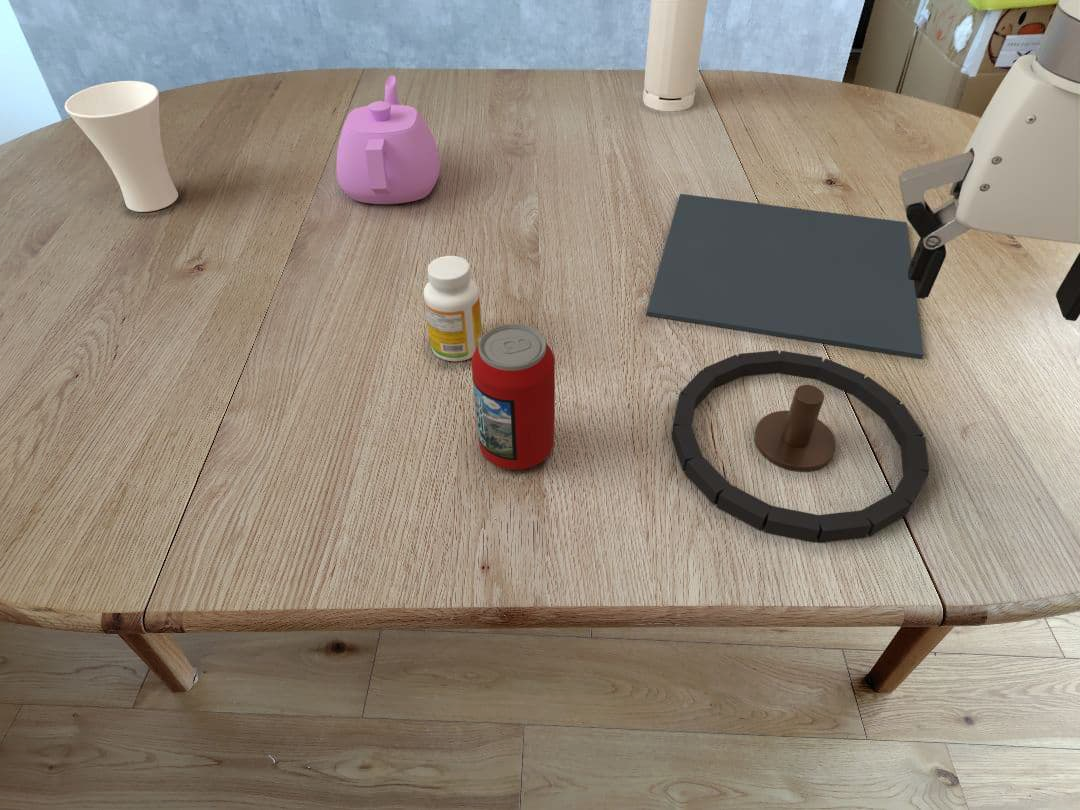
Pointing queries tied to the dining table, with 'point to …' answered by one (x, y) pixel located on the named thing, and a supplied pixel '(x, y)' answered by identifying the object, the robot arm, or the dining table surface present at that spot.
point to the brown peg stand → (797, 434)
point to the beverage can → (514, 396)
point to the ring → (786, 519)
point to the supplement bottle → (452, 309)
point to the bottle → (673, 53)
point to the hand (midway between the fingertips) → (990, 298)
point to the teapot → (387, 152)
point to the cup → (127, 139)
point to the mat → (790, 275)
